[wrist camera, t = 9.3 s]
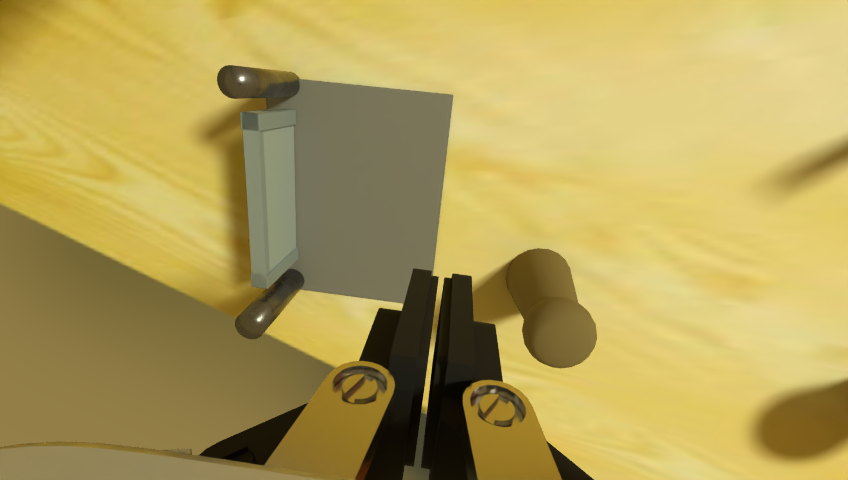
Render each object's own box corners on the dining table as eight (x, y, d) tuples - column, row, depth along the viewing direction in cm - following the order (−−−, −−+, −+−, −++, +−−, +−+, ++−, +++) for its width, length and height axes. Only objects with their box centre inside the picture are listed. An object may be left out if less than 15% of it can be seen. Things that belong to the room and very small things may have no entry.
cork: (497, 297, 39) (508, 369, 29) (517, 241, 37) (535, 298, 27) (557, 312, 39) (589, 390, 29) (580, 257, 37) (623, 321, 27)
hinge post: (277, 70, 34) (215, 63, 26) (301, 73, 34) (246, 67, 26) (278, 95, 35) (218, 97, 26) (301, 98, 35) (248, 100, 26)
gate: (280, 108, 35) (240, 111, 29) (295, 110, 35) (259, 113, 28) (284, 256, 40) (251, 286, 34) (298, 258, 39) (267, 288, 33)
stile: (264, 228, 39) (209, 265, 31) (305, 233, 39) (260, 272, 31) (267, 285, 41) (216, 334, 33) (305, 290, 41) (264, 341, 33)
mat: (266, 75, 34) (265, 75, 34) (453, 95, 33) (453, 94, 33) (275, 284, 41) (274, 285, 41) (429, 305, 40) (428, 306, 40)
